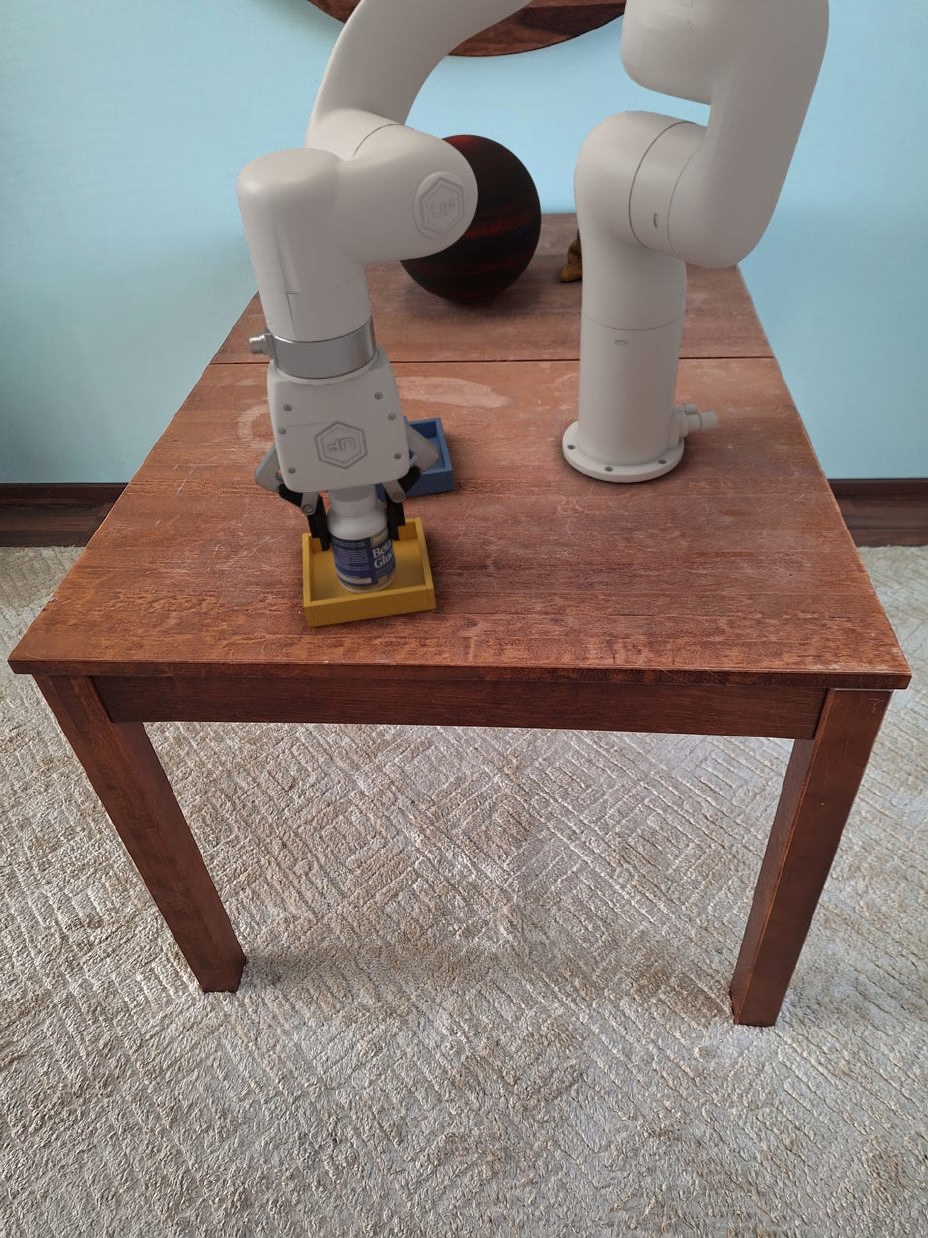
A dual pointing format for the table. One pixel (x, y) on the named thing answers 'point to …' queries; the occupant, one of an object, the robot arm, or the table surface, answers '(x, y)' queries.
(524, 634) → the table surface
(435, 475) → the blue tray
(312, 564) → the mustard tray
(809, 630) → the table surface
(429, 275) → the decorative orb
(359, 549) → the pill bottle
